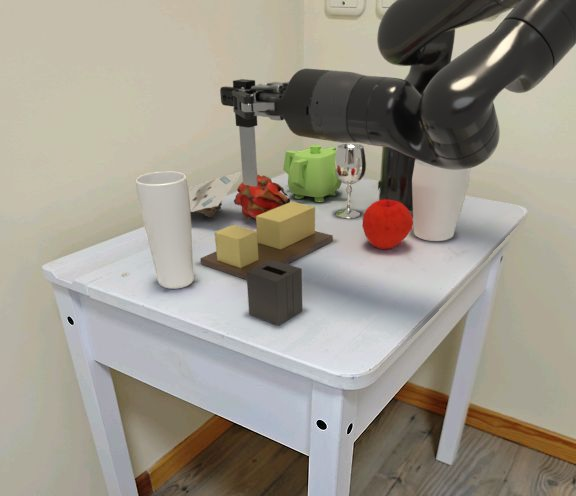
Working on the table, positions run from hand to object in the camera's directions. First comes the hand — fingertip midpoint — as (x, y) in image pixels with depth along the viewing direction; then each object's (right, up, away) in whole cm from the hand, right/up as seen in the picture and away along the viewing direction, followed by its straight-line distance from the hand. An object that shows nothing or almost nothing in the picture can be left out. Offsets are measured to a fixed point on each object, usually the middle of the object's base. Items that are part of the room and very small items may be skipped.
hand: (228, 94), depth 76 cm
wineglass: (+19, -8, +29) cm, 36 cm away
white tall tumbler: (-8, -25, +6) cm, 27 cm away
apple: (+24, -17, +16) cm, 33 cm away
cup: (+33, -14, +20) cm, 41 cm away
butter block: (+8, -15, +17) cm, 24 cm away
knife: (+3, -11, +5) cm, 12 cm away
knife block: (+6, -30, -2) cm, 31 cm away
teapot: (+14, -1, +39) cm, 41 cm away
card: (-5, -7, +31) cm, 32 cm away
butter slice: (0, -20, +10) cm, 23 cm away
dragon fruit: (+4, -9, +27) cm, 29 cm away
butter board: (+5, -18, +15) cm, 24 cm away
